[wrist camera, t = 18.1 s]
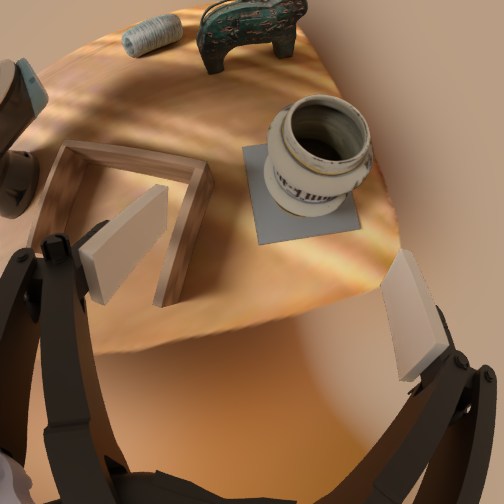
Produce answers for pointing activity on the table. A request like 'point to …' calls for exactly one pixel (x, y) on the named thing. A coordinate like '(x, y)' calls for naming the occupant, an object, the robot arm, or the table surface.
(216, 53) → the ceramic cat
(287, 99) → the table surface
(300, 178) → the apothecary jar
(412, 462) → the robot arm
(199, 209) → the walnut u-shaped frame
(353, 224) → the rubber mat
